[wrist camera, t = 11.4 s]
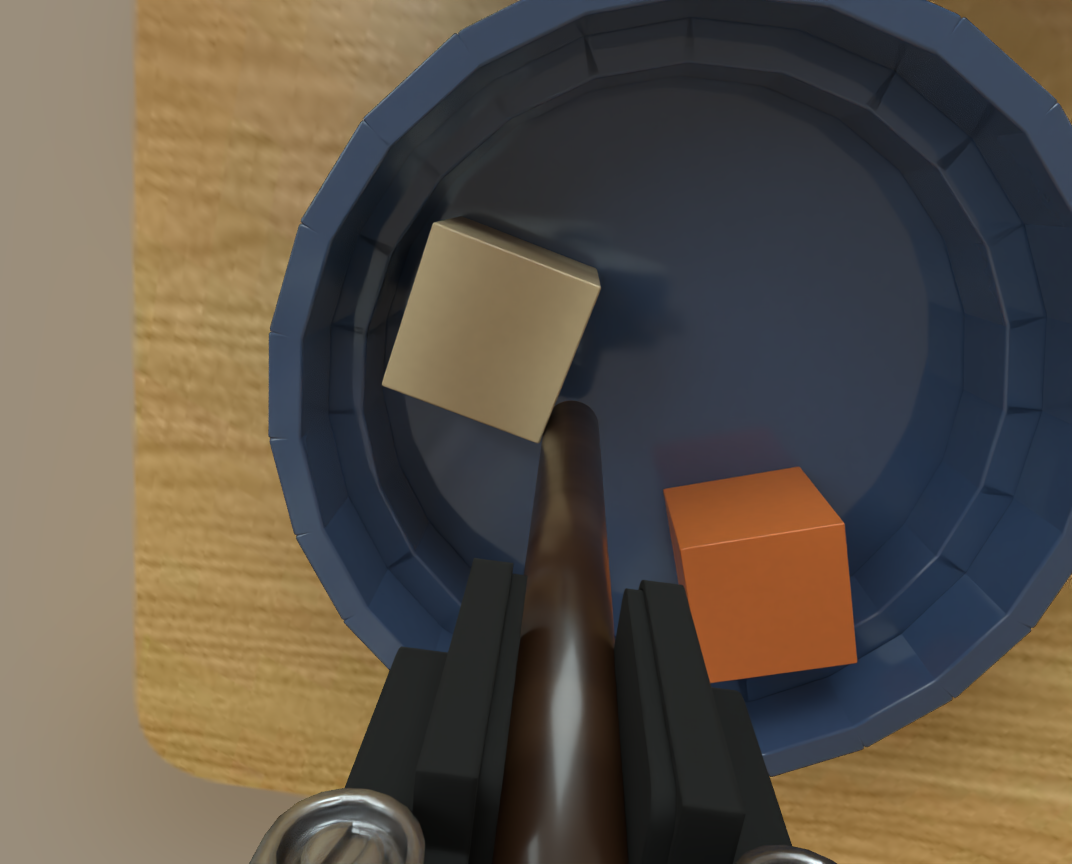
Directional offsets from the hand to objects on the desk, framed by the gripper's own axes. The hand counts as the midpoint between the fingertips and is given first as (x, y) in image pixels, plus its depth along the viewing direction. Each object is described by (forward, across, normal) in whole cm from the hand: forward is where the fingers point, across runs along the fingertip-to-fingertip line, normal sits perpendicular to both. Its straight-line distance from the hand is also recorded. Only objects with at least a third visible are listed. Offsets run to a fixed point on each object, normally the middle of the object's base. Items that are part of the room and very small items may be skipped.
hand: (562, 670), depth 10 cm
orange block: (+12, -6, +3) cm, 14 cm away
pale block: (+12, +2, -3) cm, 13 cm away
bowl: (+13, -3, -1) cm, 13 cm away
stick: (+11, 0, 0) cm, 11 cm away
